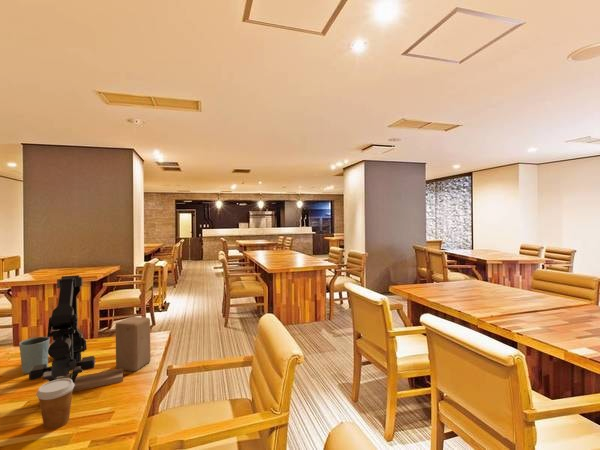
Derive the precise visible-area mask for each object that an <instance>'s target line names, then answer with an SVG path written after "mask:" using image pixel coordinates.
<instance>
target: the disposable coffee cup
mask: <svg viewBox="0 0 600 450" xmlns="http://www.w3.org/2000/svg"><path fill="white" fill-rule="evenodd" d="M74 386H75V384H74V383H73V381H72V380H71V379H65V378H64V379H57V380H53V381H50V382H49V381H48V382H45V383H43V384H42V385H41V386H39V387H38V389H37V392H36V394H35V395H36V397H37V398H38V402H39V408H40V412H41V418H42V423H43V427H44V429H45V430H56V429H58V428H61V427H63V426H65V425H66V424H67V423H68V422H69V421H70V413H71V406H72V398H73V388H74Z"/></svg>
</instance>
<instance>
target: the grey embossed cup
mask: <svg viewBox="0 0 600 450" xmlns="http://www.w3.org/2000/svg"><path fill="white" fill-rule="evenodd" d="M50 340H51V338H50V337H47V336H35V337H32V338H27V339H24V340H21V341H20V342H19V343H18V345H19V353H20V363H21V372H22V373H23V374H29V372H30V371H31V369H32V368H33V367H34V366H36V365H42V364H46V365H47V367H49V354H48V349H49V346H50V344H51V343H50Z"/></svg>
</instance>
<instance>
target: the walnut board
mask: <svg viewBox="0 0 600 450" xmlns="http://www.w3.org/2000/svg"><path fill="white" fill-rule="evenodd" d="M121 382H124V370H123V368H121V369H117V368H115V369H109V370H105V371H101V372H95V373H91V374H90V373H89V374H83V375H80V376H78V375H77V377H76V379H75V382H74V384H75V386H74V388H73V392H77V391H84V390H88V389H92V388H98V387H102V386H108V385H112V384H117V383H121ZM73 392H72V393H73Z"/></svg>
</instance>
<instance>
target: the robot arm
mask: <svg viewBox="0 0 600 450" xmlns="http://www.w3.org/2000/svg"><path fill="white" fill-rule="evenodd" d="M83 284H84V280H83V277H81V276H80V275H79V274H76V275H64V276H63V275H62V276H61V278H59V279H56V288H57V289H59V295H58V301H57V306H56V307H55V308H54V309H53V310H52V313H51V316H50V317H49V318H48V326H47V333H46V334H47V336H46V337H49V338H50V337H52V336H53V341H51V343H49V349H48V357H49V356H50V357H51V358H52V362H51V366H47V365H46V364H42V365H36V366H34V367H33V368H32V369H31V371H30V372H29V373H28V380H29V381H33V380H38V379H41V378H42V380H43V381H44V380H47V381H48V382H50V381H53V380H56V379H57V377H60V376H67V375H68V374H69V373H70V372H71V373H72V381H73V383H74V382H75V379H76V377H78V375H79V374H81V373H83V371H87V370H88V371H89V370H93V369H94V368H95V365H96V357H95V355H92V356H91V355H90V356H84V357H82V353H84V352H85V351H87V350H88V349H87V347H88V346H87V340H86V338H85V337H84V336H83V331H82V330H81V329H80V328H79V319H78V317H79V316H78V315H79V314H78V295H79V293H80V291H81V289H82V287H83ZM52 329H53V330H57V331H52Z"/></svg>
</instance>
